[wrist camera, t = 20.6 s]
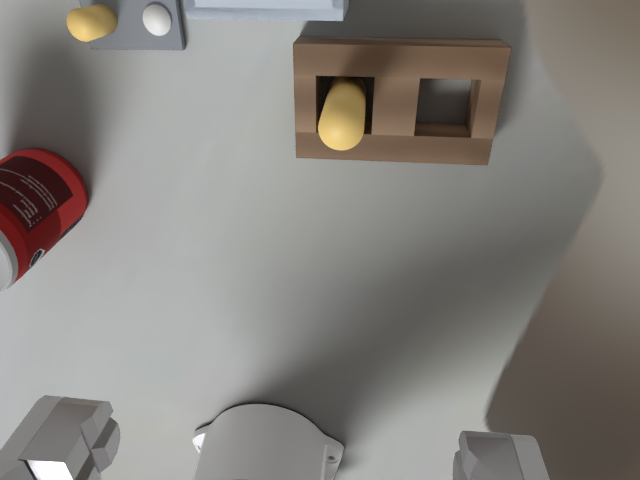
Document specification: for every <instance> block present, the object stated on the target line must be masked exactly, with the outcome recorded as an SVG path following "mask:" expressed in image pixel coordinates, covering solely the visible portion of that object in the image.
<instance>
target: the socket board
mask: <svg viewBox="0 0 640 480" xmlns="http://www.w3.org/2000/svg"><path fill="white" fill-rule="evenodd" d="M510 53H511V47H510V46H509V45H507V44H506V43H505V42H503V41H502V40H490V39H431V38H372V37H313V36H299V37H298V38H297V39H296V41H295V42H294V43H293V63H294V98H295V134H296V158H314V159H339V160H365V161H391V162H417V163H443V164H469V165H488V161H489V156H490V151H491V147H492V142H493V137H494V132H495V127H496V122H497V117H498V112H499V107H500V102H501V97H502V92H503V87H504V83H505V78H506V73H507V68H508V63H509V58H510ZM320 76H352V77H374V92H373V109H372V121H365V123H364V133H363V137H362V139H361V140H360V142H359V143H358V144H357V145H356V146H354V147H353V148H351V149H348V150H341V151H340V150H334V149H332V148H330V147H328V146H327V145H326V144H325V143H324V142H323V141H322V140H321V138H320V135H319V132H318V124H319V120H320ZM420 78H435V79H472V82H471V88H470V94H469V100H468V106H467V112H466V118H465V124H441V123H415V121H416V111H417V102H418V93H419V84H420Z"/></svg>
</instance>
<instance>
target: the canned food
mask: <svg viewBox="0 0 640 480" xmlns="http://www.w3.org/2000/svg"><path fill="white" fill-rule="evenodd" d="M87 203H88V194H87V190H86V186H85V184H84V181H83V179H82V178H81V176H80V175H79V173H78V172H77V170H76V169H75V168H74V167H73V166H72V165H71V164H70V163H69V162H68V161H66V160H65V159H64V158H62V157H60V156H59V155H57V154H55V153H53V152H50V151H47V150H43V149H25V150H19V151H17V152H14V153H12V154H10V155H8V156H7V157H5V158H3V159H1V160H0V294H1V293H2V292H4V291H5V290H6V289H8V288H9V287H11V286H12V285H13V284H14V283H15V282H16V281H17V280H18V279H20V278H21V277H22V276H23V275H24V274H25V273H26V272H27V271H28V270H29V269H30V268H31V267H32V266H33V265H34V264H35V263H36V262H37V261H39V260H40V259H41V258H42V257H43V256H44V255H45V254H46V253H47V252H48V251H49V250H50V249H51V248H52V247H53V246H54V245H55V244H56V243H57V242H59V241H60V240H61V239H62V238H63V237H64V236H65V235H66V234H67V233H68V232H69V231H70V230H71V229H72V228H73V227H74V226H75V225H76V224H77V223H78V222H79V221H80V220H81V219H82V217H83V215H84V213H85V210H86V208H87Z"/></svg>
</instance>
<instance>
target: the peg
mask: <svg viewBox="0 0 640 480" xmlns="http://www.w3.org/2000/svg"><path fill="white" fill-rule="evenodd" d="M365 105H366V88H365V85H364V83H363V82H362V81H361V80H360V79H359V78H358V77H352V76H339V77H337V78H336V79H335V80H334V81H333V82H332V83H331V85H330V88H329V91H328V94H327V98H326V101H325V104H324V107H323V111H322V114H321V117H320V120H319V124H318V132H319V135H320V138H321V140H322V141H323V142H324V143H325V144H326V145H327V146H328V147H330V148H332V149H334V150H340V151H341V150H348V149H351V148H353V147H354V146H356V145H357V144H358V143H359V142H360V140H361V139H362V137H363V133H364V123H365Z"/></svg>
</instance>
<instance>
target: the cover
mask: <svg viewBox="0 0 640 480" xmlns="http://www.w3.org/2000/svg"><path fill="white" fill-rule="evenodd" d="M184 2H185V10H186V17H187V19H242V20H311V21H343V19H344V17H345V15H346V12H347V10H348V8H349V0H184Z"/></svg>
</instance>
